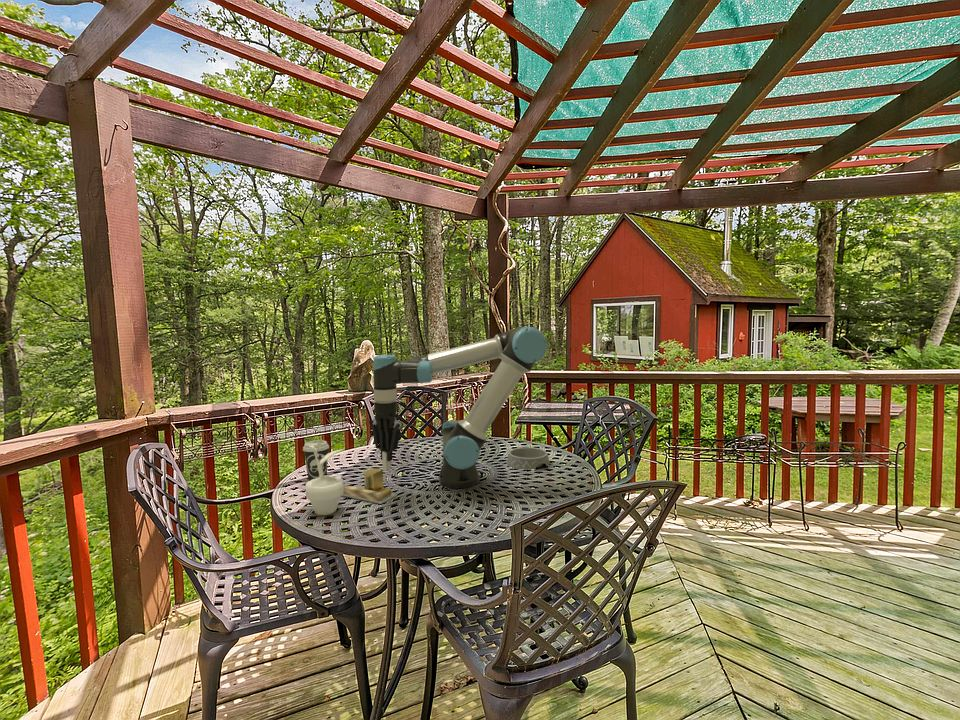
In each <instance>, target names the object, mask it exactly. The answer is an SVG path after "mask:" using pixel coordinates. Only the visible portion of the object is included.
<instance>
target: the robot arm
mask: <svg viewBox="0 0 960 720" xmlns="http://www.w3.org/2000/svg"><path fill="white" fill-rule="evenodd" d="M547 350H548V342H547V339H546V337H545V335H544V334H543V332H542V331H540V330H539V329H537V328H535V327H533V326H517V327H514V328H512V329H509V330H507V331H504V332H500V333H497V334H495V336H494V337H492V338H488V339H484V340H480V341H476V342H472V343H468V344H464V345H460V346H457V347H452V348H448V349H445V350H441V351H436V352H432V353H428V354H424V355H421V356H413V357H410V358H409V359H408V360H405V361H404V360H397V357H396V355H394V354H380V355H379V354H378V355H376V356H374V357H373V362H372V363H373V364H372V365H373V366H372V367H373V368H372V373H373V374H372V375H373V400H374V403H373V405H374V407H373V412H374V418H373V419H371V420H369V421H368V424H369V425H370V427H371V431H372V435H373V437H372V438H373V440H374V447H375V448H376V449H378V450H379V451H380V460H381V461H382V464H381V465H382V470H383V472H387V471H389V470H391V469H392V461H393V451H396V450H397V449H398V446H399V441H400V438H401V437H400V435H401V431H402V428H403V427H404V423H403V422H400V421H399V420H398V417H397V412H398V403H397V401H396V400H398V397H397V392H398V391H397V388H398V387H397V384H421V385H422V384H427V383H428V384H429V383H431V382H432V381H433V375H435V374H440V373H443V372H448V371H451V370H455V369H460V368H463V367H467V366H472V365H476V364H479V363H480V364H481V363H484V362H487V361H492V360H496V359H500V360H501V362H500V363H499V364H498V366H497V368H496V370H495V371H494V373H493V374H492V376H491V377H490V378H489V380H488V382H487V383H486V385H485V387H484V389H483V390H482V391H481V393H480V394H479V396H478V398H477V399H476V401H475V402H474V403H473V405H472V407H471V409H470V410H469V412H467V415H466V416H465V418H464V419H461V420H448V421H444V422H443V423H442V429H441V432H442V461H443V462H442V466H441V469H440V472H439V476H438V483H440V484H439V485H440V486H442V487H444V488H448V489H467V487H468V488H470V487H471V486H472V487H475V486H477V485H478V484H479V483H480V474H479V469H478V467H477V465H476V463H477V462H478V459H479V457H480V451H481V449H482V448H483V446H484V444H485V443H486V441H487V440H488V438H487V432H488V429H490V427H491V425H492V423H493V422H494V420H495V419H496V417H497V416H498V414H499V412H500V411H501V410H502V408H503V406H504V404H505V403H506V402H507V400H508V398H509V396H511V394H512V392H513V390H514V389H515V387H517V385H518V382H519V381H520V380H521V378H522V377H523V375H524V374H528V373H531V371H532V369H533V368H534V366H535V364H536V363H537V362H540V360H541V359H543V358H544V356H545V355H546V352H547ZM476 484H477V485H476ZM474 485H475V486H474Z"/></svg>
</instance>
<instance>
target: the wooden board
mask: <svg viewBox="0 0 960 720" xmlns="http://www.w3.org/2000/svg"><path fill="white" fill-rule="evenodd" d="M356 487H357V488H362V489H365V486H361V485H357V486H356ZM342 497H346V498H351V499H356V500H360V501H364V502H365V501H366V502H369V503H374V504H378V505H382V504H384V503H386V502H387V501H390V500H391V499H393V498H395V497H397V493H396V492H392V491H391V494H389V495H387V496H385V497H383V498H382V500H381V501H379V502H378V501H373V500H369V499H364V498H359V497H355V496H350V495H345V494H343V495H342Z"/></svg>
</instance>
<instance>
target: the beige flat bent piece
mask: <svg viewBox="0 0 960 720" xmlns="http://www.w3.org/2000/svg"><path fill="white" fill-rule="evenodd" d="M343 486H344V492H343V494H345V495H350V496H355V497H359V498H364V499H369V500H373V501H378V502H379V501H381V500H382V498H383V497H385V496H387V495H389V494H391V492H392V488H389V487H383V489H381V490H379V491H372V490H367V489H362V488H357V486H352V485H347V484H343Z"/></svg>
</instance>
